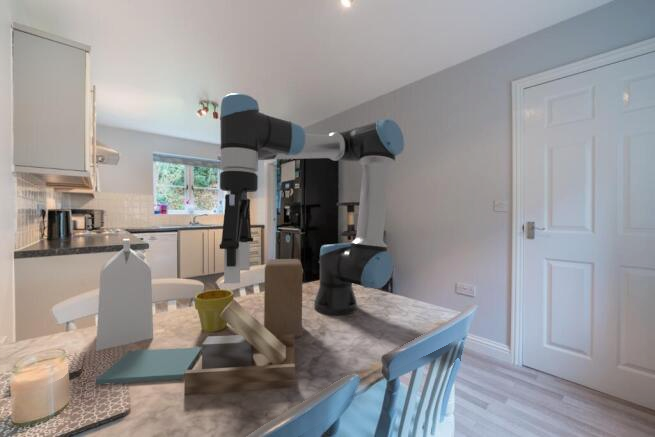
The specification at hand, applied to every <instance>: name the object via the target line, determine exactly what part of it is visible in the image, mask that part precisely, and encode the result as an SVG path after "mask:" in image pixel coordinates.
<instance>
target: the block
mask: <svg viewBox="0 0 655 437" xmlns="http://www.w3.org/2000/svg"><path fill="white" fill-rule="evenodd" d="M303 272H304V271H303V265H302V262H301V260H300V259H298V258H285V259H284V258H273V259H268V260H266V263H265V267H264V294H263V296H264V306H263V307H264V308H263V309H264V311H263V312H264V313H263V314H264V316H263V319H264V320H263V326H264V327H265V328H266V329H267V330H268V331H269V332H271V333H272V334H273V335H290V334H294V339H296V338H297V339H298V338H300V337H302V333H303Z"/></svg>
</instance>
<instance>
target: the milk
mask: <svg viewBox="0 0 655 437" xmlns="http://www.w3.org/2000/svg"><path fill="white" fill-rule="evenodd" d="M122 240H123V242H122V244H123V246H122V247H123V248H122V249H121V250H119V252H117V253H116V254H115V255H113V256H112V257H111V258H110V259H109V260H107V262H105V263H104V264H103V265H102V267H101V269H100V274H99V275H100V276H99V292H98V293H99V295H98V308H97V309H98V312H97V327H96V328H97V330H96V343H95V344H96V346H95V348H96V349H95V351H96V352H97V351H103V350H106V348H107V349H111V347H112V348H115V347H121V346H124V345H129V344H133V343H139V342H141V341H148V340H150V339H154V319H153V316H154V314H153V288H152V267H151V264H150V262H149V261H147V260H146V258H147V256H146V255H145V254H144V253H143V252H141V251H140V250H137V251H135V250H133V249H132V248H131V243H130V242H131V240H130V238H123V239H122ZM102 349H103V350H102Z"/></svg>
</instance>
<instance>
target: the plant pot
mask: <svg viewBox="0 0 655 437" xmlns="http://www.w3.org/2000/svg"><path fill="white" fill-rule="evenodd" d="M233 299H234V291H232V290H229V289H221V288H220V289H218V288H217V289H210V290H206V291H205V290H204V291H201V292H199V293H197V294H196V295H195V296H194V309H195V310H196V311H197V314H198V317H199V322H200V328H201V330H202V331H203V332H206V333H213V332H214V333H215V332H219V331H222V330H224V329H225V328H226V327H227V325H228V323H227V322H226V321H224V320H223V319H222V318H221V317H220V315H221V313H222V312H223V310H224V309H225V308H226V307H227V306H228V304H229V303H230V302H231V301H232V300H233Z"/></svg>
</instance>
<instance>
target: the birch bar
mask: <svg viewBox="0 0 655 437" xmlns="http://www.w3.org/2000/svg"><path fill="white" fill-rule="evenodd" d="M220 317H221V318H222V319H223V320H224V321H226V322H227V325H228V326H230V327H231V328H232V329H233V330H235V331H236V332H237V333H238V335H241V336H242V337H243V338H245V339H246V340H247V341H248V342H249V343H250V344H251V345H252V346H254V347H255V348H256V349H257V350H258V351H259V352H260V353H261V354H262V355H264V356H265V357H266V358H267V359H268V360H269V361H270V362H271V363H273V364H274V365H280V364H281V363H282V361H283V360H284V359H285V358H286V346H285V345H284V344H283V343H282V342H280V341H279V340H278V339H277V338H276V337H275V336H274V335H273V334H272V333H271V332H269V331H268V330H267V329H266V328H265V327H264V324H262V323H261V322H260V321H258V319H256V318H255V317H254V316H253V315H252V314H251V313H250V312H248V311H247V309H245V307H243V306H242V305H241V304H240V303H239V302H238V301H237V300H236V299H235V298H233V300H232V301H231V302H230V303H229V304H228V306H227V307H226V308H225V309H224V310H223V312H222V313H221V315H220Z"/></svg>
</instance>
